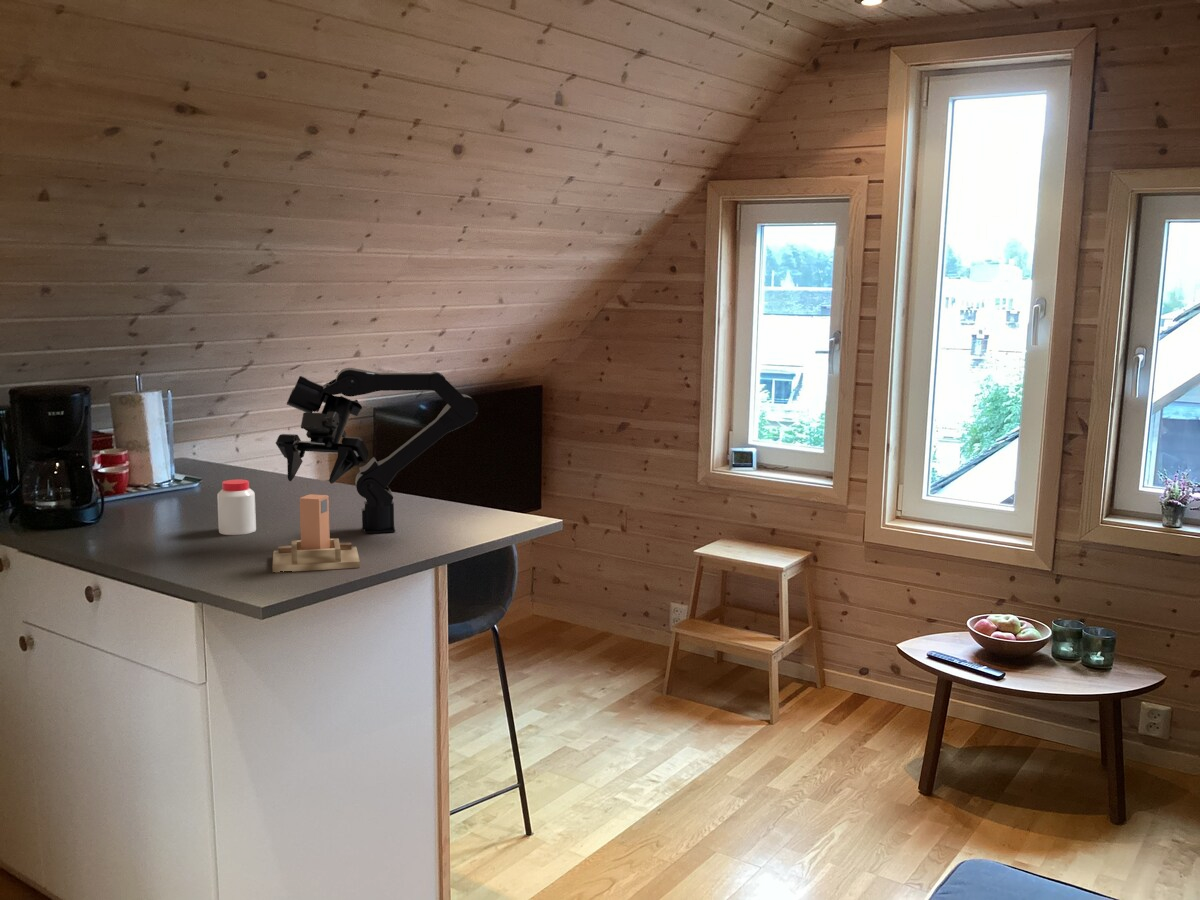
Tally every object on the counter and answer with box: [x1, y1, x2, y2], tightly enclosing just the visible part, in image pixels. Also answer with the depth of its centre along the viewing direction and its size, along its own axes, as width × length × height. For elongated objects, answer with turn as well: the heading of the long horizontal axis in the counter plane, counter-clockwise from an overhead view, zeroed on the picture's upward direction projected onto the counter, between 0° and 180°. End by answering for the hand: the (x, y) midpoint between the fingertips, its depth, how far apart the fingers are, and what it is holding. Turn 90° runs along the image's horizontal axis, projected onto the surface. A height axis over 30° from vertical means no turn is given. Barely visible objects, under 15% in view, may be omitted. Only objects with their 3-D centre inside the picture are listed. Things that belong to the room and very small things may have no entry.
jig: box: [272, 537, 361, 573], centre depth 208 cm, size 16×12×4 cm
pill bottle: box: [216, 478, 257, 536], centre depth 233 cm, size 8×8×11 cm
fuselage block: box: [299, 493, 331, 550], centre depth 206 cm, size 4×4×12 cm
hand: (309, 481), depth 219 cm, fingers open, 9 cm apart
